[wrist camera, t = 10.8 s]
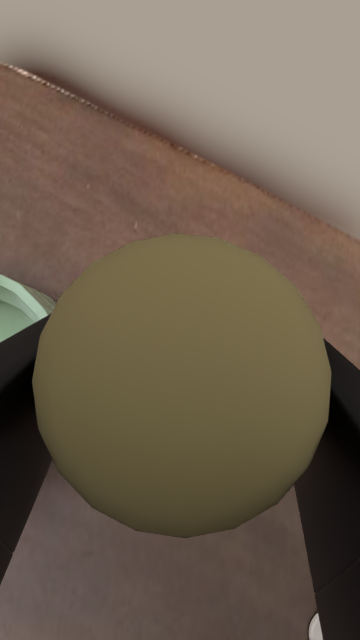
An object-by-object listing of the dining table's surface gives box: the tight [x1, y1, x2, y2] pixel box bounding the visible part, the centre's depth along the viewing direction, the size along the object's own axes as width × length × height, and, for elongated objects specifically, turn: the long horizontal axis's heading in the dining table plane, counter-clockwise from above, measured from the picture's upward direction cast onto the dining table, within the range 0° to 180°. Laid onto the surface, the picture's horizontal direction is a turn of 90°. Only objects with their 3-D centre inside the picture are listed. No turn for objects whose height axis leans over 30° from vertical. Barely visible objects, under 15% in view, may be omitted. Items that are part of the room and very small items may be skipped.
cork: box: [32, 233, 332, 538], centre depth 10 cm, size 6×6×11 cm
